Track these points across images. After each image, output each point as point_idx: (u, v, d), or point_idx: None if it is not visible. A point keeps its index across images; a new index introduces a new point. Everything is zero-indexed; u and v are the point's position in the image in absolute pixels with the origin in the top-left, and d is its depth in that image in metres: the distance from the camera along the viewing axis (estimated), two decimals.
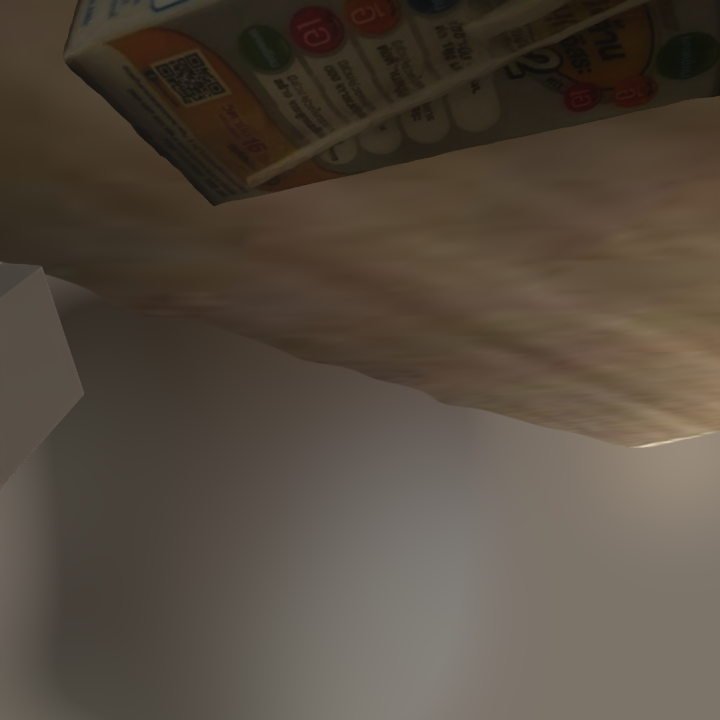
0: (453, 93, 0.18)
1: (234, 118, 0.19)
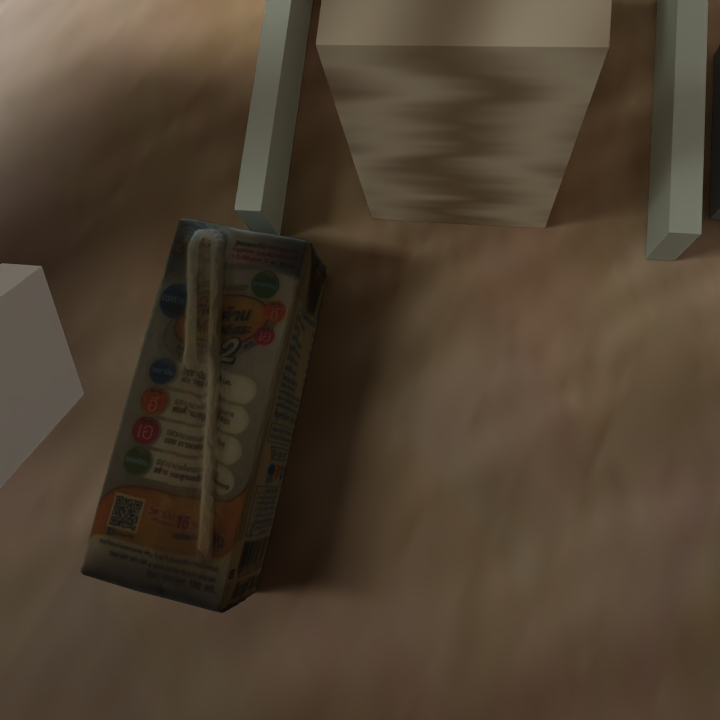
0: (223, 393, 0.32)
1: (158, 512, 0.31)
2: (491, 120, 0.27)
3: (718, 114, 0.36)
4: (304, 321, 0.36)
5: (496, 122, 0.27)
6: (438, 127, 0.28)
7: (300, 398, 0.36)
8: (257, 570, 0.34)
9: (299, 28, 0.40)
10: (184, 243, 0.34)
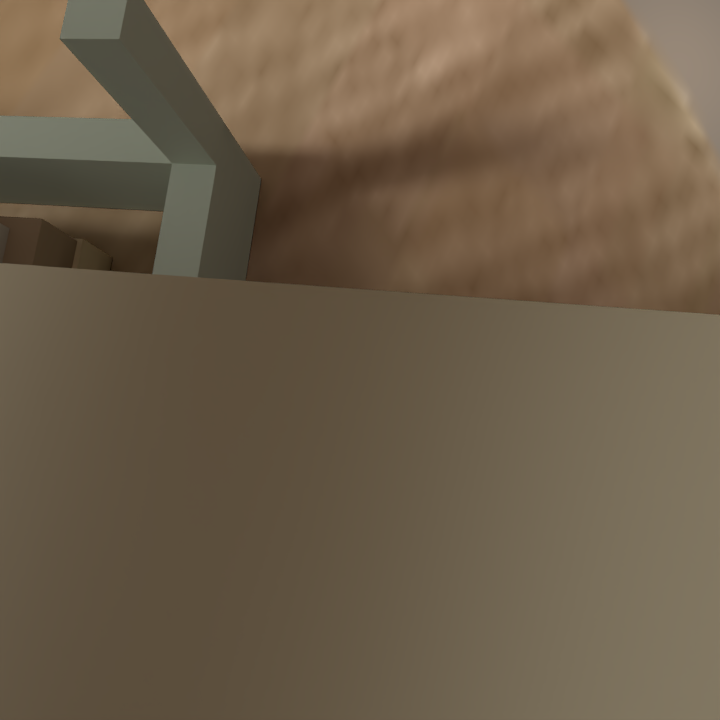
0: None
1: None
2: None
3: None
4: None
5: None
6: None
7: None
8: None
9: None
10: None
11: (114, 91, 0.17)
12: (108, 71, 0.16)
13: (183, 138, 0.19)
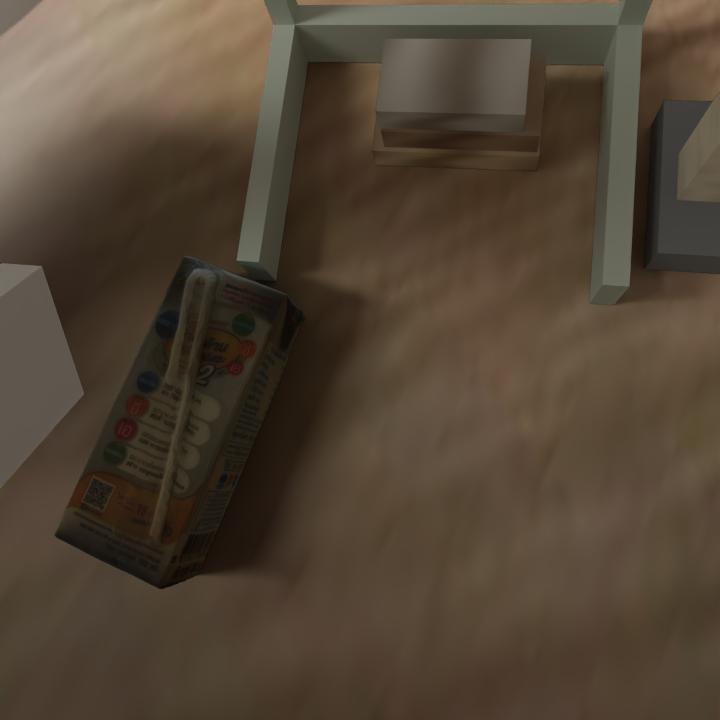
0: (193, 410, 0.39)
1: (123, 498, 0.38)
2: None
3: (652, 179, 0.42)
4: (275, 357, 0.42)
5: None
6: None
7: (262, 420, 0.43)
8: (200, 558, 0.41)
9: (294, 100, 0.46)
10: (184, 277, 0.40)
11: None
12: None
13: (643, 6, 0.39)
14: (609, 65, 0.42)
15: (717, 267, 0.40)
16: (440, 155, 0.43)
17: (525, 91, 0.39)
